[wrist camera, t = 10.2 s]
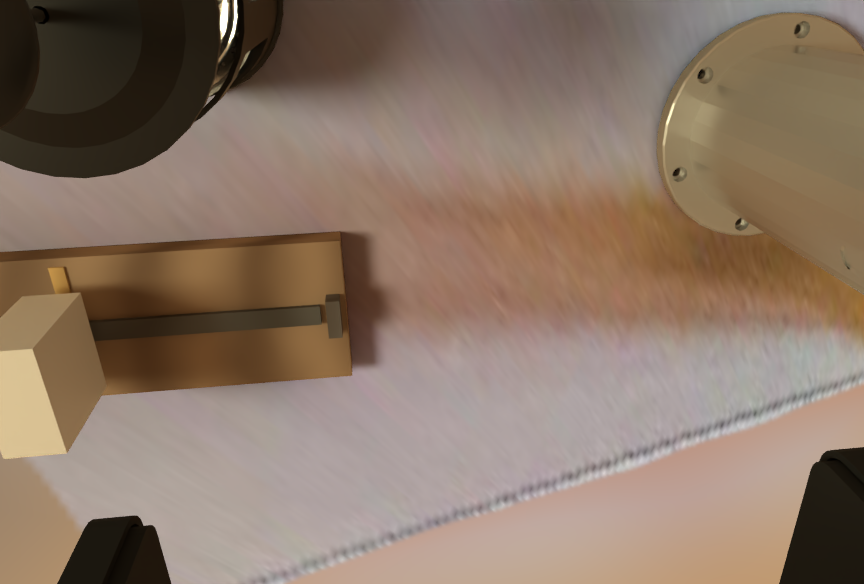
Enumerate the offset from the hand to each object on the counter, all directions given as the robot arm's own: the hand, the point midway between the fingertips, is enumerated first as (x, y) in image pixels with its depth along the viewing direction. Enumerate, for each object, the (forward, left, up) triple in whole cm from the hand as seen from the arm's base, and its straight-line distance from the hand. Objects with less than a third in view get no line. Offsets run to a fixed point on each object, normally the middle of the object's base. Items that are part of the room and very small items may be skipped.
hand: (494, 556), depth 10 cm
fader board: (+5, +17, -30) cm, 35 cm away
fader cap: (+9, +20, -28) cm, 35 cm away
